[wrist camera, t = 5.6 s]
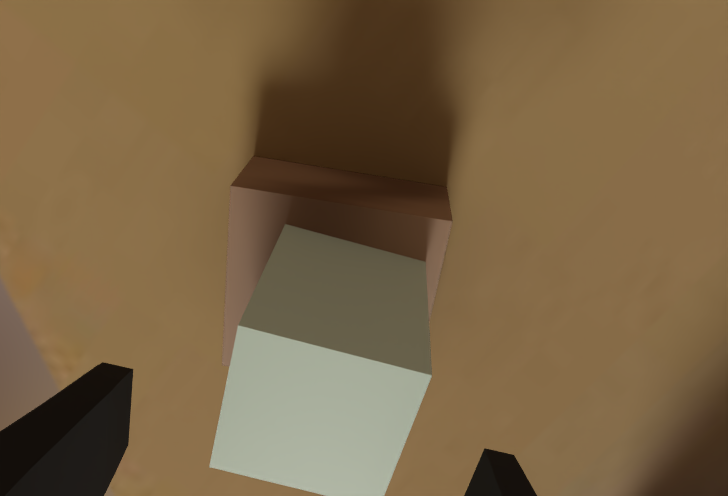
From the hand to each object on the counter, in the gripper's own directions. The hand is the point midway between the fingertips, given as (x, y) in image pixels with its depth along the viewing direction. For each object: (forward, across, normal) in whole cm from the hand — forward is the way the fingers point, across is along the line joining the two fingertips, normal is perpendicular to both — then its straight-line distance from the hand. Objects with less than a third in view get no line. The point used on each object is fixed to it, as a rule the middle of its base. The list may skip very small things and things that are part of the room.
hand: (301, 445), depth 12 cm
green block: (+6, 0, 0) cm, 6 cm away
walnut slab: (+9, 0, 0) cm, 9 cm away
